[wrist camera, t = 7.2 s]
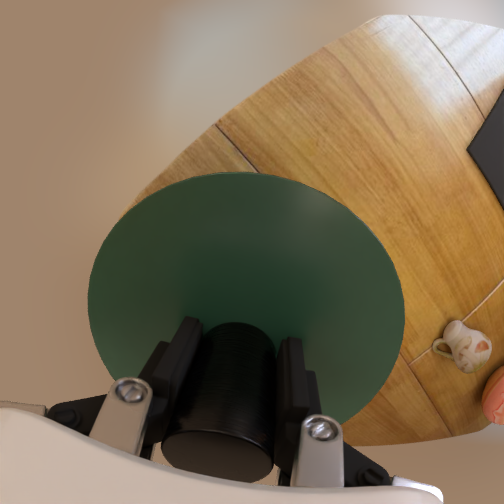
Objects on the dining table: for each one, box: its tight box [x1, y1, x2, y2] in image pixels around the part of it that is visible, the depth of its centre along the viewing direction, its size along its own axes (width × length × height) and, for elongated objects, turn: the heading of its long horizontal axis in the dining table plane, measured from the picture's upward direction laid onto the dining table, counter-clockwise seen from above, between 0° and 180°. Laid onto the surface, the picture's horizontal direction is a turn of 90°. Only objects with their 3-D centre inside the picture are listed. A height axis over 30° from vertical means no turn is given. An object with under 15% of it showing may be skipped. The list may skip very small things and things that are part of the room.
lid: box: [88, 172, 405, 483], centre depth 10 cm, size 15×15×7 cm
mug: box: [432, 320, 492, 374], centre depth 35 cm, size 8×10×10 cm
